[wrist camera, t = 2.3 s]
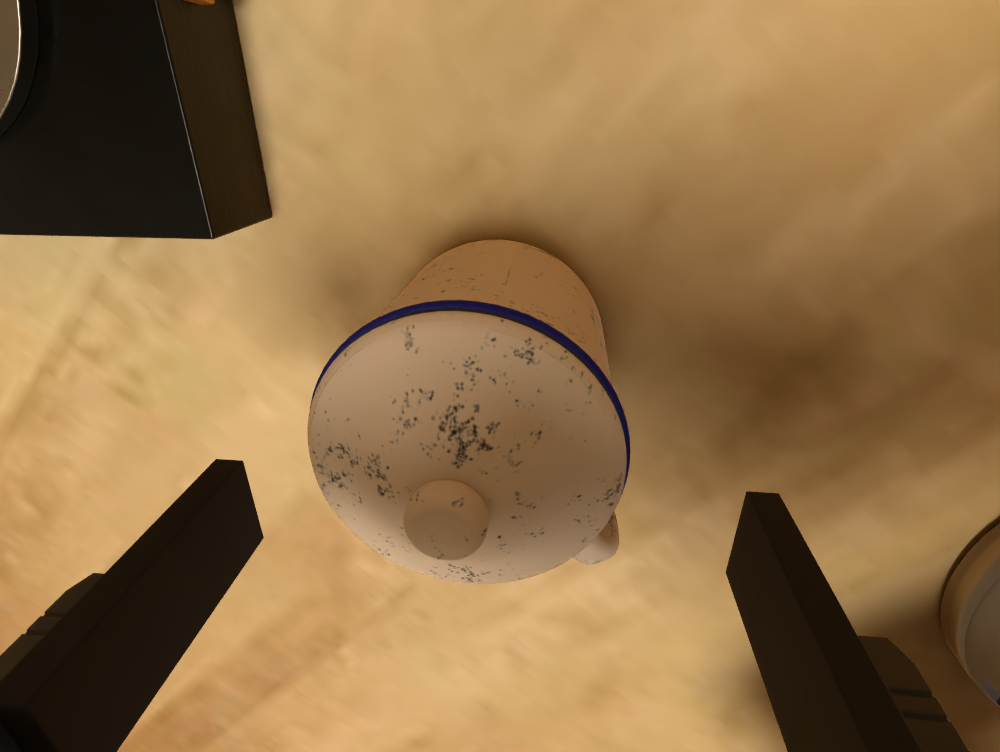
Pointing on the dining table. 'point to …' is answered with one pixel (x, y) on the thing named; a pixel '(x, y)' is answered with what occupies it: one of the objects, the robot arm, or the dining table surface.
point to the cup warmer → (126, 120)
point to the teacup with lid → (476, 421)
